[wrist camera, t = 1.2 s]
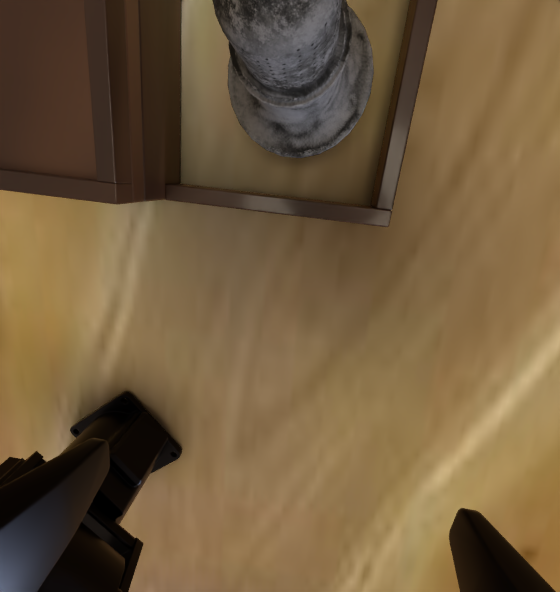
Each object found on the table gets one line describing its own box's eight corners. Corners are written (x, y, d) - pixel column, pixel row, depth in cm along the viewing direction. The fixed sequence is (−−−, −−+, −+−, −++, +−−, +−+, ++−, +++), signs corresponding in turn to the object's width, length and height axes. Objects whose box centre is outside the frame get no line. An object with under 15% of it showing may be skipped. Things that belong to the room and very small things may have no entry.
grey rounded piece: (361, 159, 17) (433, 112, 6) (251, 165, 18) (126, 135, 7) (365, 22, 15) (484, -440, 4) (242, 36, 16) (46, -315, 5)
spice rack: (-2, 176, 20) (-136, 172, 14) (-42, -60, 16) (-247, -196, 10) (382, 222, 18) (409, 241, 12) (435, -32, 14) (511, -181, 8)
